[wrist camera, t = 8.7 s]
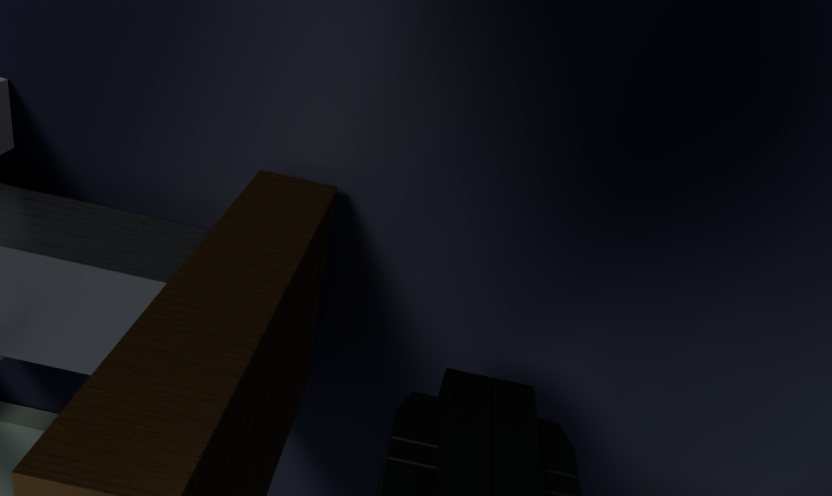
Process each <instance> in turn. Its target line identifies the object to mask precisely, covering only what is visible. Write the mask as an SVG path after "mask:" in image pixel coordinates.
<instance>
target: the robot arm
mask: <svg viewBox="0 0 832 496" xmlns="http://www.w3.org/2000/svg"><path fill="white" fill-rule="evenodd" d="M377 496H582V495H581V489H580V482H579V480H578V470H577V464H576V457H575V451H574V447H573V446H572V444H571V443H570V441H569V439H568V438H567V436H566V434H565V433H564V431H563V430H562V428H561V426H560V425H559V423H556V422H552V421H547V420H542V419H538V418H537V412H536V402H535V393H534V388H533V387H532V386H529V385H524V384H519V383H515V382H510V381H506V380H501V379H496V378H492V377H491V378H490V379H489V378H488V377H486V376H482V375H477V374H473V373H468V372H463V371H459V370H454V369H449V368H447V369H446V371H445V374H444V377H443V380H442V384H441V388H440V391H439V395H438V397H435V396H431V395H426V394H421V393H417V392H411V393H410V394H409V395H408V396H407V398H406V399H405V400H404V401H403V402H402V404H401V405H400V406H399V407H398V408H397V409H396V412H395V416H394V420H393V424H392V428H391V433H390V437H389V441H388V445H387V449H386V453H385V458H384V462H383V466H382V470H381V474H380V480H379V485H378V491H377Z"/></svg>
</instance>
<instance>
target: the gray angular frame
mask: <svg viewBox="0 0 832 496" xmlns="http://www.w3.org/2000/svg"><path fill="white" fill-rule="evenodd" d="M12 148H14V140H13V130H12V120H11V110H10V99H9V89H8V79H4V78H0V155H1V154H3V153H5V152H7V151H9V150H11V149H12ZM4 357H5V356H1V355H0V361H1V360H2V359H3V358H4Z"/></svg>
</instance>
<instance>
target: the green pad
mask: <svg viewBox="0 0 832 496" xmlns="http://www.w3.org/2000/svg"><path fill="white" fill-rule="evenodd" d="M58 415H59V414H56V413H52V412H47V411H42V410H38V409H33V408H29V407H24V406H20V405H15V404H10V403H6V402H1V401H0V496H14V491H13V483H12V476H11V472H12V471H13V469H14V468H15V467H16V466H17V464H18V463H19V462H20V461H21V460H22V458H23V457H24V456H25V455H26V454H27V452H28V451H29V450H30V449H31V447H32V446H33V445H34V444H35V443H36V441H37V440H38V439H39V438H40V437H41V435H42V434H43V433H44V432H45V430H46V429H47V428H48V427H49V426H50V424H51V423H52V422H53V421H54V420H55V418H56V417H57V416H58Z"/></svg>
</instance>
